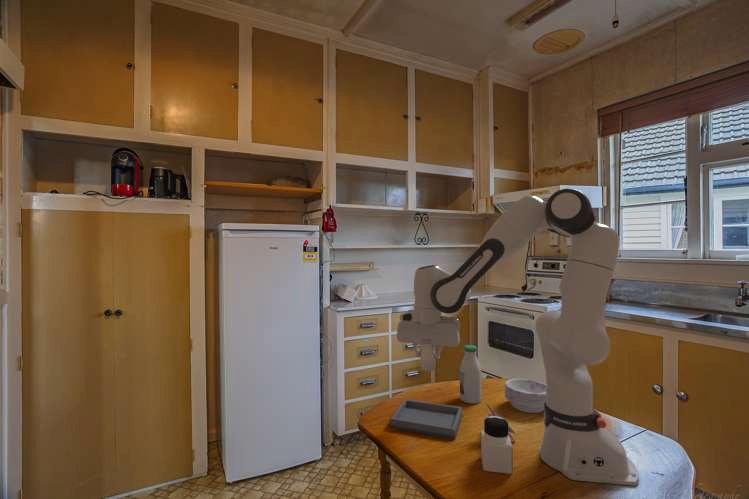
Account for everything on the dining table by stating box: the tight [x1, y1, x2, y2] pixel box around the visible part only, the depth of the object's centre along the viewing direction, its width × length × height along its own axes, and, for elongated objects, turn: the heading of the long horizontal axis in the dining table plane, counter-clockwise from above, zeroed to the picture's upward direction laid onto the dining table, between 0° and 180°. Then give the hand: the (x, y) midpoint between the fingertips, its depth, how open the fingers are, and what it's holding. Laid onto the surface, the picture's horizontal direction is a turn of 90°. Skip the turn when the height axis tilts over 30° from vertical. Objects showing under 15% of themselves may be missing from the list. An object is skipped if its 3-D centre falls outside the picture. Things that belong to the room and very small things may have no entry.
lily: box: [484, 402, 517, 443], centre depth 111 cm, size 12×12×10 cm
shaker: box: [420, 339, 436, 372], centre depth 122 cm, size 5×5×10 cm
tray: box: [390, 398, 463, 441], centre depth 122 cm, size 20×16×3 cm
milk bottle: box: [459, 344, 482, 405], centre depth 139 cm, size 8×8×20 cm
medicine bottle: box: [480, 416, 513, 475], centre depth 98 cm, size 7×7×12 cm
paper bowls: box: [504, 378, 546, 414], centre depth 132 cm, size 15×15×8 cm
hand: (427, 357), depth 122 cm, fingers closed on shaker, 5 cm apart
